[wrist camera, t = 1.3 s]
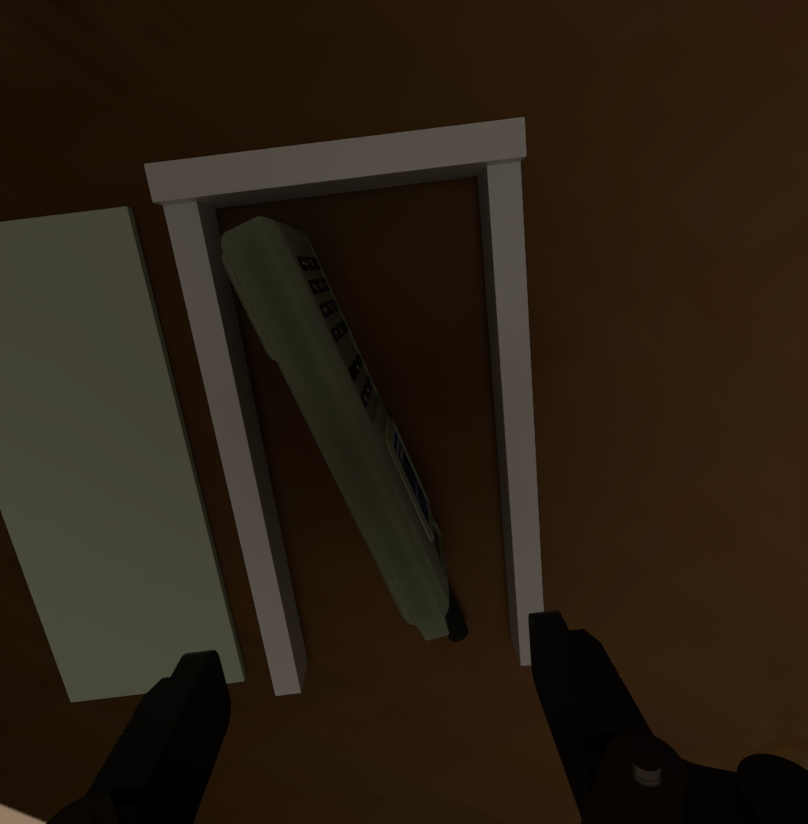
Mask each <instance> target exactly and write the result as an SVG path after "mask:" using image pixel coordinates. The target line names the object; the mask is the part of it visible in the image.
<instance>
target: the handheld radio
mask: <svg viewBox="0 0 808 824" xmlns="http://www.w3.org/2000/svg"><path fill="white" fill-rule="evenodd" d="M221 248H222V251H223V253H224V254H223V256H222V261H223V265H224V268H225V270H226V272H227V274H228V276H229V278H230V280H231V282H232V284H233V286H234V288H235V290H236V292H237V294H238V296H239V298H240V300H241V302H242V304H243V306H244V308H245V310H246V312H247V314H248V316H249V318H250V320H251V322H252V324H253V326H254V328H255V330H256V332H257V334H258V336H259V339H260V341H261V343H262V345H263V347H264V349H265V351H266V353H267V354H268V356H269V357H270V358H271V359H272V360H276V361H277V363H278V365H279V368H280V370H281V372H282V374H283V376H284V378H285V380H286V382H287V384H288V386H289V388H290V390H291V392H292V394H293V396H294V398H295V400H296V402H297V404H298V406H299V408H300V410H301V412H302V414H303V416H304V418H305V420H306V422H307V424H308V426H309V428H310V430H311V432H312V435H313V437H314V439H315V441H316V443H317V445H318V447H319V449H320V451H321V453H322V455H323V457H324V459H325V461H326V463H327V465H328V467H329V469H330V471H331V473H332V475H333V477H334V479H335V481H336V483H337V485H338V487H339V489H340V491H341V493H342V495H343V497H344V499H345V502H346V504H347V506H348V508H349V510H350V512H351V514H352V516H353V518H354V520H355V522H356V524H357V526H358V528H359V530H360V532H361V534H362V536H363V538H364V540H365V542H366V544H367V546H368V548H369V550H370V552H371V554H372V556H373V558H374V560H375V562H376V564H377V566H378V569H379V571H380V573H381V575H382V577H383V579H384V581H385V583H386V585H387V587H388V589H389V591H390V593H391V595H392V597H393V599H394V601H395V603H396V605H397V607H398V609H399V611H400V613H401V615H402V617H403V618H404V619H405V620H406V621H407V622H408V623H410V624H411V625H416V626H417V627H418V629H419V630H420V632H421V633H422V635H423V636H424V638H425V639H426V641H428V640H431V639H435V638H438V637H442V636H445V635H448V637H449V639H450V640H451V641H453V642H458V641H461V640H463V639H464V638H465V637H466V636H467V634H468V628H467V626H466V624H465V622H464V619H463V617H462V615H461V613H460V610H459V608H458V606H457V604H456V602H455V599H454V597H453V595H452V593H451V591H450V588H449V586H448V579H447V571H446V563H445V555H444V548H443V540H442V535H441V532H440V530H439V528H438V525H437V523H436V521H435V518H434V516H433V514H432V512H431V506H430V503H431V501H430V500H429V498H428V496H427V494H426V491H425V489H424V487H423V485H422V482H421V480H420V478H419V476H418V473H417V471H416V469H415V466H414V464H413V462H412V460H411V457H410V455H409V453H408V451H407V448H406V446H405V444H404V442H403V439H402V437H401V435H400V433H399V430H398V428H397V426H396V424H395V420H394V418H392V417H390V416H389V414H388V412H387V409H386V407H385V405H384V403H383V400H382V398H381V397H380V395H379V393H378V391H377V388H376V386H375V384H374V382H373V380H372V377H371V375H370V373H369V371H368V368H367V366H366V364H365V362H364V360H363V357H362V355H361V353H360V351H359V348H358V346H357V344H356V342H355V340H354V337H353V335H352V333H351V331H350V329H349V326H348V324H347V322H346V320H345V317H344V315H343V313H342V311H341V309H340V306H339V304H338V302H337V300H336V297H335V295H334V293H333V291H332V289H331V286H330V284H329V282H328V280H327V278H326V275H325V273H324V271H323V269H322V266H321V264H320V262H319V260H318V258H317V255H316V253H315V251H314V249H313V246H312V244H311V242H310V240H309V238H308V236H307V234H306V233H305V232H304V231H303V230H301V229H298V228H295V227H292V226H289V225H287V224H284V223H281V222H278V221H275V220H273V219H270V218H266V217H261V216H257V217H255V218H253V219H251V220H249V221H247V222H245V223H243V224H241V225H239V226H237V227H235V228H233V229H231V230H229V231H227V232H225V233H224V234H223V235H222V236H221Z"/></svg>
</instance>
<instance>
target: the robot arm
mask: <svg viewBox="0 0 808 824" xmlns="http://www.w3.org/2000/svg"><path fill="white" fill-rule="evenodd" d="M528 624H529V640H530V656H531V668H532V674H533V679H534V683H535V687H536V690H537V693H538V696H539V699H540V702H541V704H542V707H543V710H544V713H545V716H546V719H547V721H548V724H549V727H550V730H551V733H552V736H553V739H554V741H555V744H556V747H557V750H558V753H559V756H560V758H561V761H562V764H563V767H564V770H565V773H566V775H567V778H568V781H569V784H570V787H571V790H572V792H573V795H574V798H575V801H576V804H577V807H578V809H579V812H580V815H581V818H582V821H581V824H808V771H807V770H806V769H804V768H803V767H801V766H799V765H798V764H796V763H794V762H792V761H790V760H787V759H785V758H782V757H779V756H775V755H770V754H754V755H750V756H748V757H746V758H744V759H743V760H742V761H741V762H740V763H739V766H738V768H737V772H732V771H727V770H722V769H716V768H711V767H706V766H701V765H697V764H694V763H691V762H688V761H686V760H684V759H682V758H680V756H679V755H678V754H677V752H676V751H675V750H674V749H673V748H672V747H671V746H669V745H668V744H667V743H666V742H664V741H662V740H661V739H659V738H657V737H655V736H654V735H653V733H652V732H651V730H650V728H649V726H648V725H647V723H646V721H645V719H644V718H643V716H642V714H641V712H640V711H639V709H638V707H637V705H636V704H635V702H634V700H633V698H632V697H631V695H630V693H629V691H628V690H627V688H626V686H625V684H624V683H623V681H622V679H621V678H619V674H618V672H617V670H616V669H615V667H614V665H613V663H611V661H610V658H609V656H608V655H607V653H606V651H605V650H604V648H603V646H602V644H601V643H600V642H599V641H598V640H597V639H595V638H594V637H593V636H592V635H591V634H589V633H588V632H587V631H586V630H585V629H579V630H571V631H569V629H568V627H567V625H566V623H565V621H564V619H563V617H562V615H561V613H560V612H559V611H558V610H553V611H544V612H536V613H529V615H528ZM230 714H231V701H230V695H229V691H228V688H227V684H226V680H225V676H224V672H223V668H222V664H221V661H220V657H219V654H218V652H217V651H216V650H208V651H200V652H192V653H185V654H184V655H183V656H182V657H181V659H180V660H179V662H178V664H177V666H176V668H175V669H174V671H173V673H172V675H171V677H166V678H162V679H161V680H160V681H159V682H157V683H156V684H155V685H154V686H153V687H152V688H151V689H150V690H149V691H148V692H147V693H146V694H145V695H144V697H143V698H142V700H141V702H140V703H139V705H138V707H137V709H136V710H135V712H134V714H133V718H132V719H130V720H129V722H128V724H127V726H126V727H125V729H124V731H123V735H121V736H120V738H119V739H118V741H117V743H116V744H115V746H114V748H113V749H112V751H111V753H110V755H109V756H108V758H107V760H106V761H105V763H104V765H103V766H102V768H101V770H100V772H99V773H98V775H97V777H96V778H95V780H94V782H93V783H92V785H91V787H90V789H89V790H88V792H87V794H86V795H85V797H82V798H80V799H78V800H76V801H74V802H72V803H70V804H69V805H67V806H66V807H64V808H63V809H61V810H60V811H59V812H58V813H56V814H55V815H54V816H53V817H52V818H51V819H50V820H49V821H48V822H47V823H46V824H193V822H194V820H195V817H196V814H197V811H198V808H199V806H200V803H201V800H202V797H203V795H204V792H205V789H206V786H207V783H208V781H209V778H210V775H211V772H212V770H213V767H214V764H215V761H216V759H217V756H218V753H219V750H220V747H221V745H222V742H223V739H224V736H225V734H226V731H227V728H228V725H229V721H230Z"/></svg>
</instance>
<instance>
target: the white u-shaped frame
mask: <svg viewBox="0 0 808 824" xmlns="http://www.w3.org/2000/svg"><path fill="white" fill-rule="evenodd" d="M525 157H526V136H525V117H521V118H513V119H505V120H496V121H488V122H480V123H472V124H464V125H456V126H448V127H440V128H432V129H423V130H415V131H407V132H399V133H391V134H383V135H375V136H367V137H359V138H350V139H342V140H334V141H326V142H318V143H310V144H302V145H294V146H286V147H277V148H269V149H261V150H253V151H245V152H237V153H229V154H221V155H213V156H204V157H196V158H188V159H180V160H172V161H164V162H156V163H148V164H144V167H145V171H146V176H147V180H148V184H149V188H150V193H151V197H152V201H153V203H156V204H160V205H163V208H164V212H165V217H166V221H167V225H168V230H169V234H170V238H171V243H172V247H173V251H174V256H175V260H176V265H177V269H178V273H179V278H180V282H181V286H182V291H183V295H184V299H185V304H186V308H187V312H188V317H189V321H190V325H191V330H192V334H193V338H194V343H195V347H196V352H197V356H198V360H199V365H200V369H201V373H202V378H203V382H204V386H205V391H206V395H207V399H208V404H209V408H210V412H211V417H212V421H213V426H214V430H215V434H216V439H217V443H218V447H219V452H220V456H221V460H222V465H223V469H224V473H225V478H226V482H227V486H228V491H229V495H230V500H231V504H232V508H233V513H234V517H235V521H236V526H237V530H238V534H239V539H240V543H241V547H242V552H243V556H244V560H245V565H246V569H247V574H248V578H249V582H250V587H251V591H252V595H253V600H254V604H255V608H256V613H257V617H258V621H259V626H260V630H261V634H262V639H263V643H264V647H265V652H266V656H267V661H268V665H269V669H270V674H271V678H272V682H273V687H274V691H275V695H276V696H279V695H287V694H295V693H301V690H302V685H303V681H304V676H305V671H306V666H307V656H306V651H305V646H304V641H303V636H302V631H301V627H300V622H299V617H298V612H297V607H296V602H295V597H294V592H293V587H292V583H291V578H290V573H289V568H288V563H287V558H286V553H285V548H284V543H283V538H282V534H281V529H280V524H279V519H278V514H277V509H276V504H275V499H274V494H273V489H272V485H271V480H270V475H269V470H268V465H267V460H266V455H265V450H264V445H263V440H262V436H261V431H260V426H259V421H258V416H257V411H256V406H255V401H254V396H253V392H252V387H251V382H250V377H249V372H248V367H247V362H246V357H245V352H244V347H243V343H242V338H241V333H240V328H239V323H238V318H237V313H236V308H235V303H234V298H233V294H232V289H231V284H230V279H229V276H228V274H227V272H226V270H225V268H224V265H223V261H222V256H223V254H224V253H223V251H222V248H221V235H220V230H219V225H218V220H217V215H216V210H215V209H216V208H224V207H232V206H240V205H248V204H257V203H265V202H273V201H281V200H289V199H297V198H305V197H313V196H322V195H330V194H338V193H346V192H354V191H362V190H370V189H378V188H387V187H395V186H403V185H411V184H419V183H427V182H435V181H443V180H452V179H460V178H468V177H476V176H477V180H478V193H479V207H480V221H481V234H482V248H483V262H484V276H485V289H486V303H487V317H488V330H489V344H490V358H491V372H492V385H493V399H494V413H495V427H496V440H497V454H498V468H499V481H500V495H501V509H502V523H503V536H504V550H505V564H506V577H507V591H508V605H509V619H510V632H511V639H512V641H513V644H514V647H515V650H516V653H517V656H518V659H519V662H520V665H521V666H525V665H531V656H530V640H529V624H528V615H529V613H536V612H544V609H543V590H542V571H541V551H540V532H539V512H538V493H537V473H536V454H535V434H534V415H533V395H532V376H531V356H530V337H529V317H528V298H527V279H526V259H525V240H524V220H523V201H522V181H521V162H520V161H522V160H523V159H524V158H525Z"/></svg>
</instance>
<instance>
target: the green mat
mask: <svg viewBox="0 0 808 824" xmlns="http://www.w3.org/2000/svg"><path fill="white" fill-rule="evenodd" d="M0 510H1V513H2V515H3V518H4V521H5V523H6V526H7V529H8V532H9V534H10V537H11V540H12V543H13V545H14V548H15V551H16V554H17V556H18V559H19V562H20V564H21V567H22V570H23V573H24V575H25V578H26V581H27V584H28V586H29V589H30V592H31V595H32V597H33V600H34V603H35V606H36V608H37V611H38V614H39V616H40V619H41V622H42V625H43V627H44V630H45V633H46V636H47V638H48V641H49V644H50V647H51V649H52V652H53V655H54V658H55V660H56V663H57V666H58V668H59V671H60V674H61V677H62V679H63V682H64V685H65V688H66V690H67V693H68V696H69V699H70V701H71V702H78V701H87V700H95V699H103V698H111V697H120V696H128V695H136V694H144V693H147V692H148V691H149V690H150V689H151V688H152V687H153V686H154V685H155V684H156V683H157V682H159V681H160V680H161V679H162V678H166V677H171V675H172V673H173V671H174V669H175V668H176V666H177V664H178V662H179V660H180V659H181V657H182V656H183V655H184V654H185V653H192V652H200V651H208V650H216V651H217V652H218V654H219V657H220V661H221V664H222V668H223V672H224V676H225V680H226V684H227V683H235V682H243V681H245V678H246V676H247V675H246V670H245V666H244V662H243V658H242V654H241V650H240V646H239V642H238V638H237V634H236V630H235V626H234V622H233V617H232V613H231V609H230V605H229V601H228V597H227V593H226V589H225V585H224V581H223V577H222V573H221V569H220V565H219V560H218V556H217V552H216V548H215V544H214V540H213V536H212V532H211V528H210V524H209V520H208V516H207V512H206V507H205V503H204V499H203V495H202V491H201V487H200V483H199V479H198V475H197V471H196V467H195V463H194V459H193V455H192V450H191V446H190V442H189V438H188V434H187V430H186V426H185V422H184V418H183V414H182V410H181V406H180V402H179V397H178V393H177V389H176V385H175V381H174V377H173V373H172V369H171V365H170V361H169V357H168V353H167V349H166V344H165V340H164V336H163V332H162V328H161V324H160V320H159V316H158V312H157V308H156V304H155V300H154V296H153V292H152V287H151V283H150V279H149V275H148V271H147V267H146V263H145V259H144V255H143V251H142V247H141V243H140V239H139V234H138V230H137V226H136V222H135V218H134V214H133V210H132V208H131V207H127V206H126V207H118V208H109V209H101V210H93V211H85V212H77V213H69V214H61V215H53V216H44V217H36V218H28V219H20V220H12V221H4V222H0Z"/></svg>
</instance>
